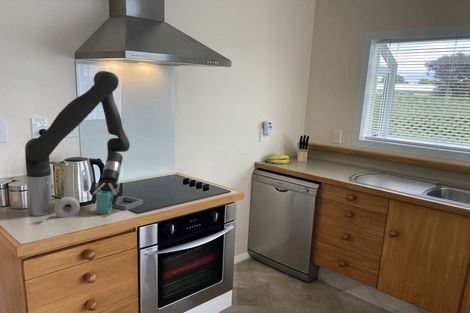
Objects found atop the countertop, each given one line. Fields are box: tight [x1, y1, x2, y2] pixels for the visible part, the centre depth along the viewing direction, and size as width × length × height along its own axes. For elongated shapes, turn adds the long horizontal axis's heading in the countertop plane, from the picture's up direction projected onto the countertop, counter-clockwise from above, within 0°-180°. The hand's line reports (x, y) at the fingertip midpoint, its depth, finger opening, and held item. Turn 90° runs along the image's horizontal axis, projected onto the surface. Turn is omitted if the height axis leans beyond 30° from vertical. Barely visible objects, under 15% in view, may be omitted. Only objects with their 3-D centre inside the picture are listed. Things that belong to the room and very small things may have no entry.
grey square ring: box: [112, 195, 144, 211], centre depth 169 cm, size 12×12×4 cm
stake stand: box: [88, 208, 121, 218], centre depth 157 cm, size 10×10×6 cm
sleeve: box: [95, 191, 113, 214], centre depth 157 cm, size 5×5×9 cm
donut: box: [53, 196, 81, 218], centre depth 150 cm, size 10×4×10 cm, turn 124°
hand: (103, 203), depth 155 cm, fingers open, 8 cm apart
